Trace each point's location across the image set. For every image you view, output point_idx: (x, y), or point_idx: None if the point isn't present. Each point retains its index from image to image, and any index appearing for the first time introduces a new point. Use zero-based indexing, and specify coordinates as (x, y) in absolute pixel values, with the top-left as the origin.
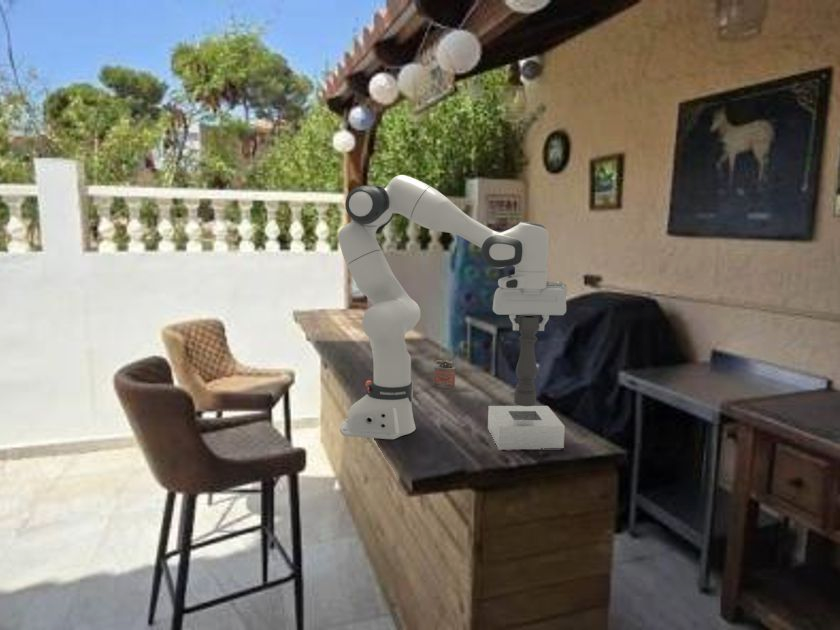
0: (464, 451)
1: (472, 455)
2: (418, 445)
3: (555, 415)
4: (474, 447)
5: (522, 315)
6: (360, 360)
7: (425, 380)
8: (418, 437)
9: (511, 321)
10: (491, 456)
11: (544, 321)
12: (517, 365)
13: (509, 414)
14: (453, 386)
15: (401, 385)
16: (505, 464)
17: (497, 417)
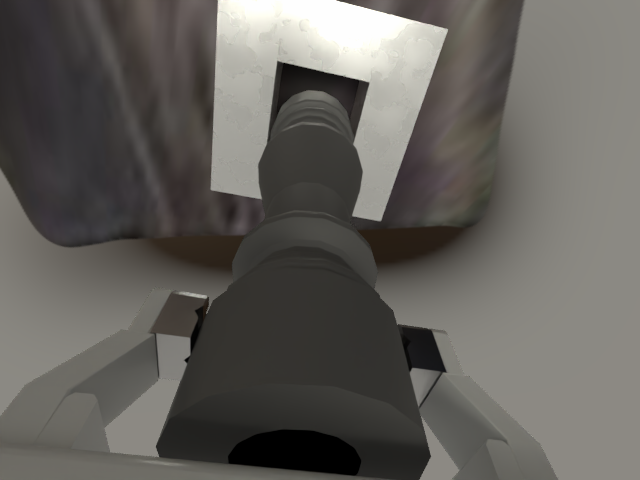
0: (145, 150)
1: (162, 175)
2: (21, 85)
3: (407, 139)
4: (172, 131)
5: (232, 406)
6: None
7: None
8: (7, 17)
9: (94, 350)
10: (204, 188)
11: (445, 447)
12: (260, 182)
13: (269, 98)
14: None
15: None
16: (224, 228)
17: (222, 119)
